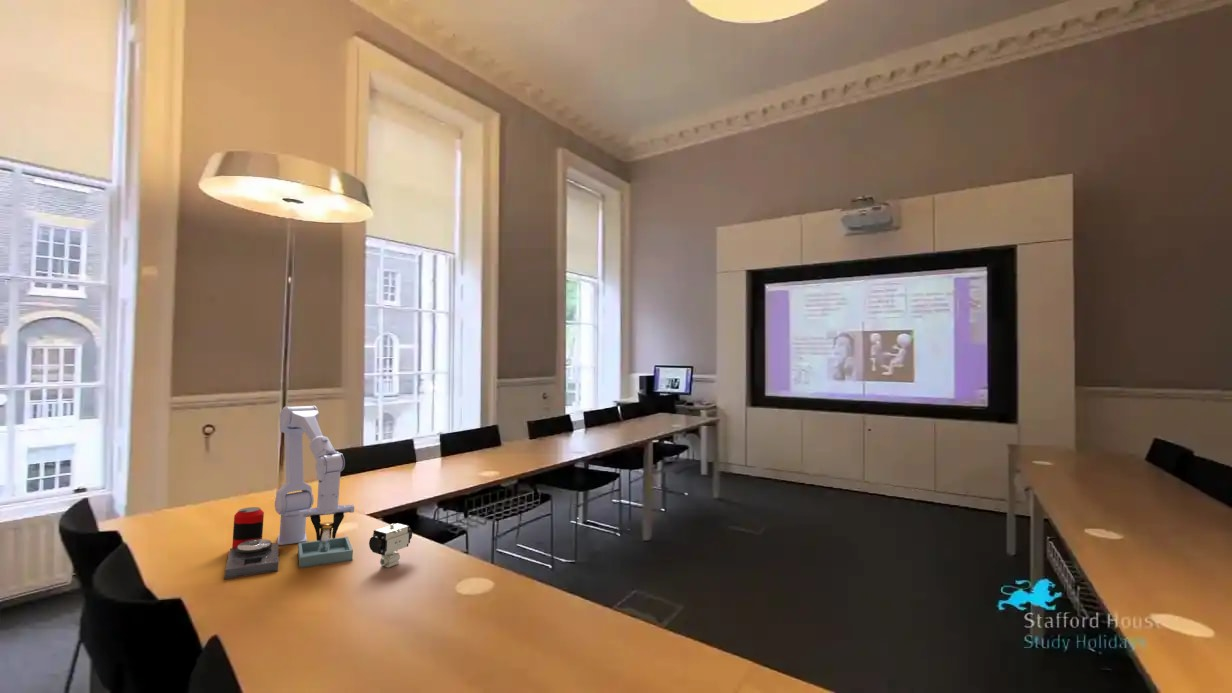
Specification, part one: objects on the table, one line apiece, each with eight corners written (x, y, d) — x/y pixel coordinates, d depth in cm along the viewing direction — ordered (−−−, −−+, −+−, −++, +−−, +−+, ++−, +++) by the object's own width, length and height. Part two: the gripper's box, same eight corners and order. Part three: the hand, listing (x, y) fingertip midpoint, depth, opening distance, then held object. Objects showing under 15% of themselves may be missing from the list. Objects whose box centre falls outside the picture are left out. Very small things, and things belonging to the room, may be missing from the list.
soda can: (225, 550, 158) (228, 511, 159) (248, 542, 166) (251, 505, 166) (245, 554, 157) (247, 514, 157) (267, 545, 164) (270, 507, 164)
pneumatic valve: (367, 570, 149) (369, 528, 149) (400, 557, 159) (402, 518, 159) (379, 574, 146) (382, 531, 146) (413, 561, 156) (415, 521, 157)
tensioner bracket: (229, 556, 154) (230, 538, 154) (277, 550, 160) (278, 532, 161) (224, 579, 139) (226, 558, 139) (277, 570, 145) (279, 551, 146)
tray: (297, 552, 159) (298, 543, 159) (347, 545, 166) (347, 536, 167) (299, 568, 148) (300, 557, 148) (352, 560, 155) (352, 550, 155)
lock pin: (315, 549, 157) (319, 522, 158) (329, 548, 159) (333, 521, 160) (316, 553, 154) (320, 526, 155) (331, 552, 156) (334, 525, 157)
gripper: (301, 499, 150) (298, 546, 150) (356, 494, 158) (353, 539, 158) (300, 493, 156) (297, 539, 156) (353, 489, 164) (351, 532, 164)
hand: (325, 538), depth 157 cm, fingers closed on lock pin, 3 cm apart
